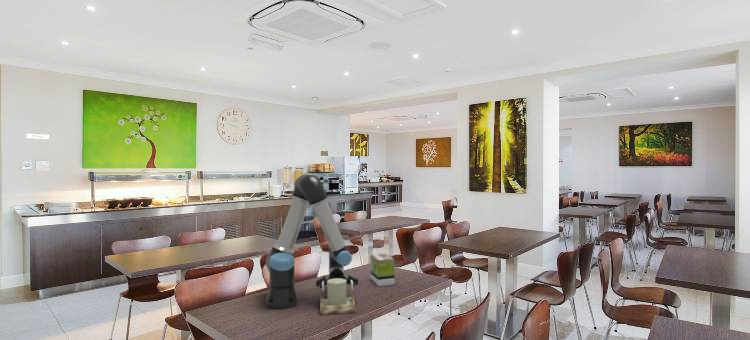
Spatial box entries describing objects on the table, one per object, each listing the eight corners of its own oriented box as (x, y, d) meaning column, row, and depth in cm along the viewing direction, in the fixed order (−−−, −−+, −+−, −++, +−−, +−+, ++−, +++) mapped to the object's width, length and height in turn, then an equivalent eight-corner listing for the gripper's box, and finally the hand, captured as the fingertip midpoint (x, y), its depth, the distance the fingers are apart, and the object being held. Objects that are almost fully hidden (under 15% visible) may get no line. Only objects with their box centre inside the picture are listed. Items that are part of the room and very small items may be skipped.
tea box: (370, 279, 240) (369, 254, 240) (386, 277, 243) (386, 252, 243) (377, 286, 226) (377, 259, 225) (395, 284, 229) (394, 258, 228)
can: (323, 306, 190) (322, 280, 190) (334, 301, 198) (334, 276, 198) (339, 310, 186) (339, 283, 186) (350, 304, 194) (350, 278, 194)
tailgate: (320, 303, 198) (320, 301, 198) (320, 300, 203) (320, 298, 203) (352, 301, 200) (352, 299, 200) (352, 298, 205) (352, 296, 205)
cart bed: (320, 314, 183) (320, 306, 183) (320, 303, 199) (320, 295, 199) (355, 312, 185) (355, 304, 185) (352, 301, 201) (352, 294, 201)
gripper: (360, 281, 213) (364, 294, 192) (312, 283, 211) (310, 296, 189) (360, 267, 213) (364, 278, 192) (312, 269, 210) (310, 280, 189)
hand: (337, 287), depth 191 cm, fingers open, 13 cm apart
